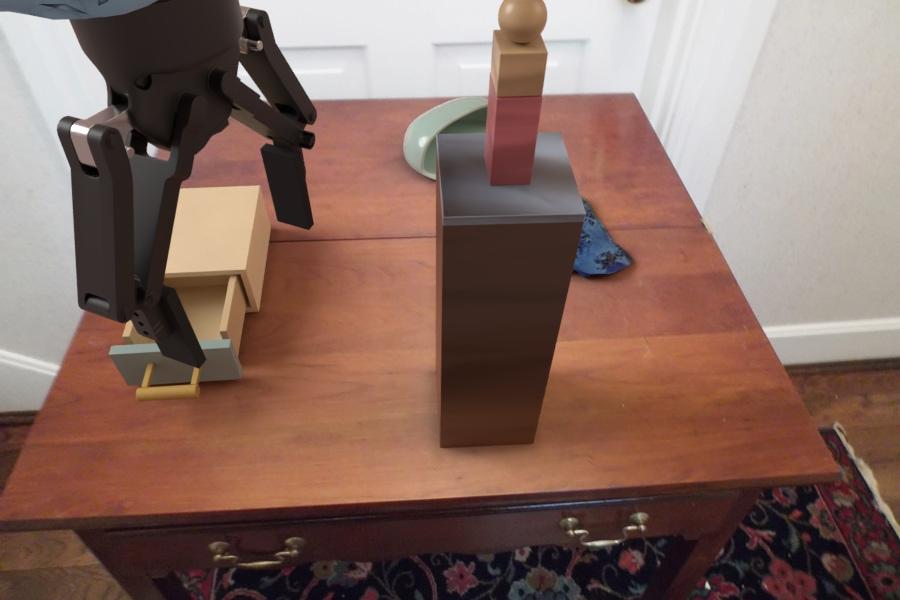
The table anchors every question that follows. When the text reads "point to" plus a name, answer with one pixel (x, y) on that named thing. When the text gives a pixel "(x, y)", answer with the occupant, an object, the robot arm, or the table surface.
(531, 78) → the doll
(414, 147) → the planter
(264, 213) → the cabinet
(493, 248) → the stand
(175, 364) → the drawer
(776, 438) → the table surface
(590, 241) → the rock
